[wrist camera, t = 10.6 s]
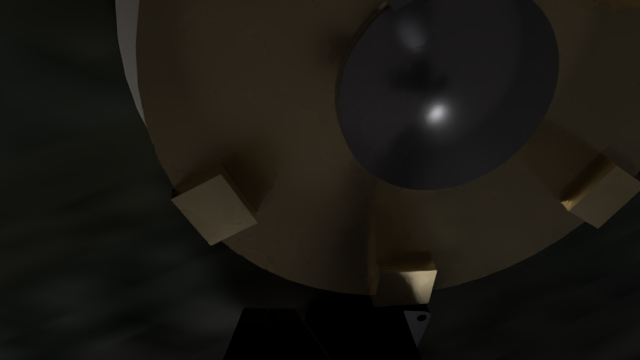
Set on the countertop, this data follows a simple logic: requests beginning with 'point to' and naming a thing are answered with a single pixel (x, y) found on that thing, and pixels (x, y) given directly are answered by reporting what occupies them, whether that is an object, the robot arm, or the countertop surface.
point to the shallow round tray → (392, 131)
